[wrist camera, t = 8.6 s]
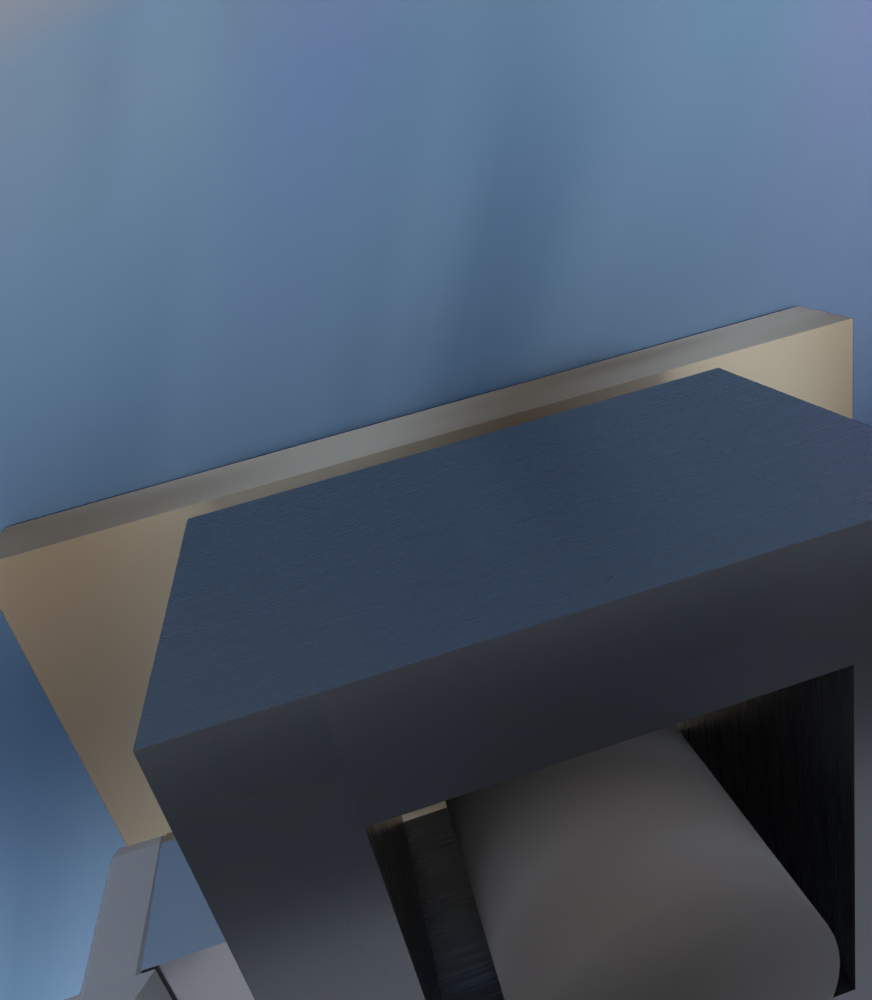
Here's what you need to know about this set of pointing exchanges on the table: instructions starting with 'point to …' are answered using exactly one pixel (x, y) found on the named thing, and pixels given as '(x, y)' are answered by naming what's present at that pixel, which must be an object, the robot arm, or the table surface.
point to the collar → (514, 670)
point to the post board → (141, 532)
